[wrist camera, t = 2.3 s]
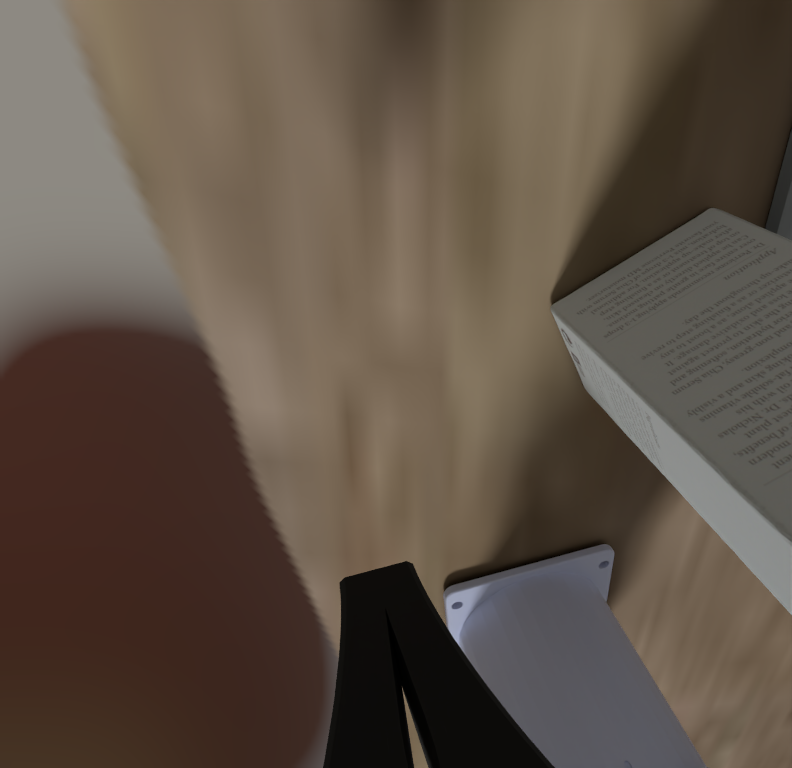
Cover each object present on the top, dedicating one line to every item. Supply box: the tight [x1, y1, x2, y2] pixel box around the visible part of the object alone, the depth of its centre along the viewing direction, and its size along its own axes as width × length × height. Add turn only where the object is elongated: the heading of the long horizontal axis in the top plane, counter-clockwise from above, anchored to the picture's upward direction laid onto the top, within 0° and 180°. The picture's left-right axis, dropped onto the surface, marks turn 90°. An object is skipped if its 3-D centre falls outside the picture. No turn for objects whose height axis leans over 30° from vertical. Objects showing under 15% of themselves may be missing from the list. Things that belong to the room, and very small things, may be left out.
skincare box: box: [551, 208, 792, 615], centre depth 14 cm, size 6×4×12 cm
